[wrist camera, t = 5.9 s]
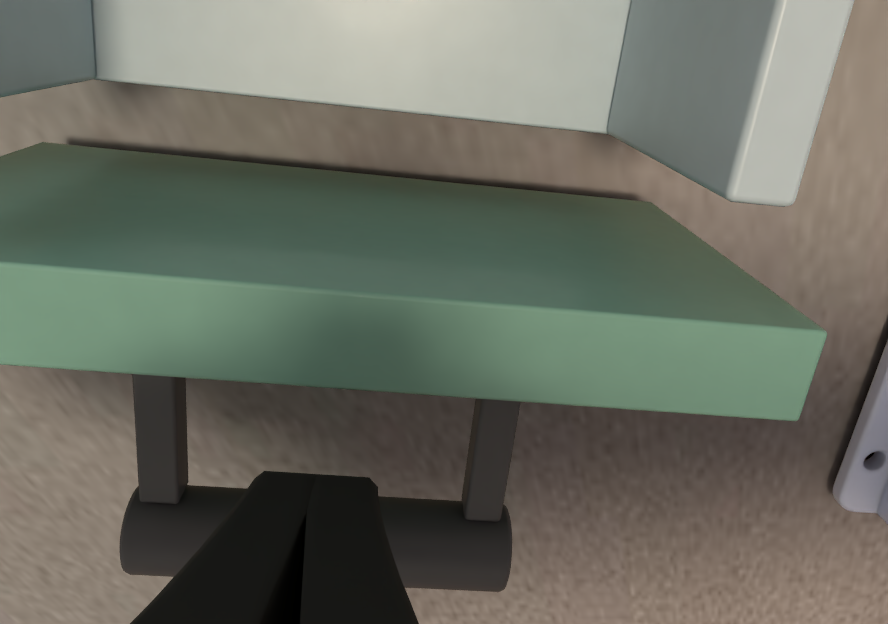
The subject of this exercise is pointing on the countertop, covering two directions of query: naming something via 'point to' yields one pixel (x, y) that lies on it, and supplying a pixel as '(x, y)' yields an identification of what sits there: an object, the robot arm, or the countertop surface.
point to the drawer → (411, 231)
